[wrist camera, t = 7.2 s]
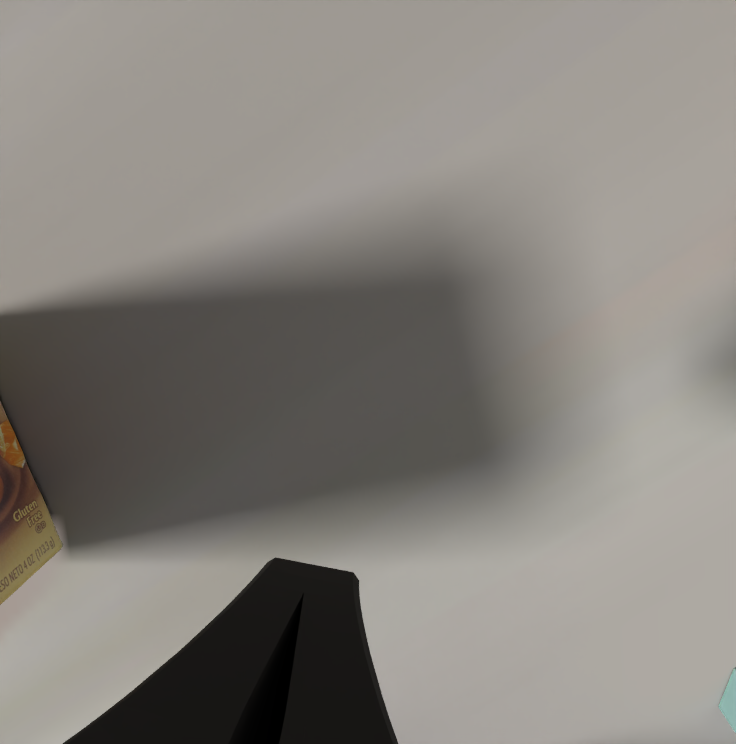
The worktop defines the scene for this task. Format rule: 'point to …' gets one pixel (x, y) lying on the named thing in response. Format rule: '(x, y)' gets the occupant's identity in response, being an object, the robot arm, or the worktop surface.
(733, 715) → the teal bracket
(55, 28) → the worktop surface
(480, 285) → the worktop surface
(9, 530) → the candy box
